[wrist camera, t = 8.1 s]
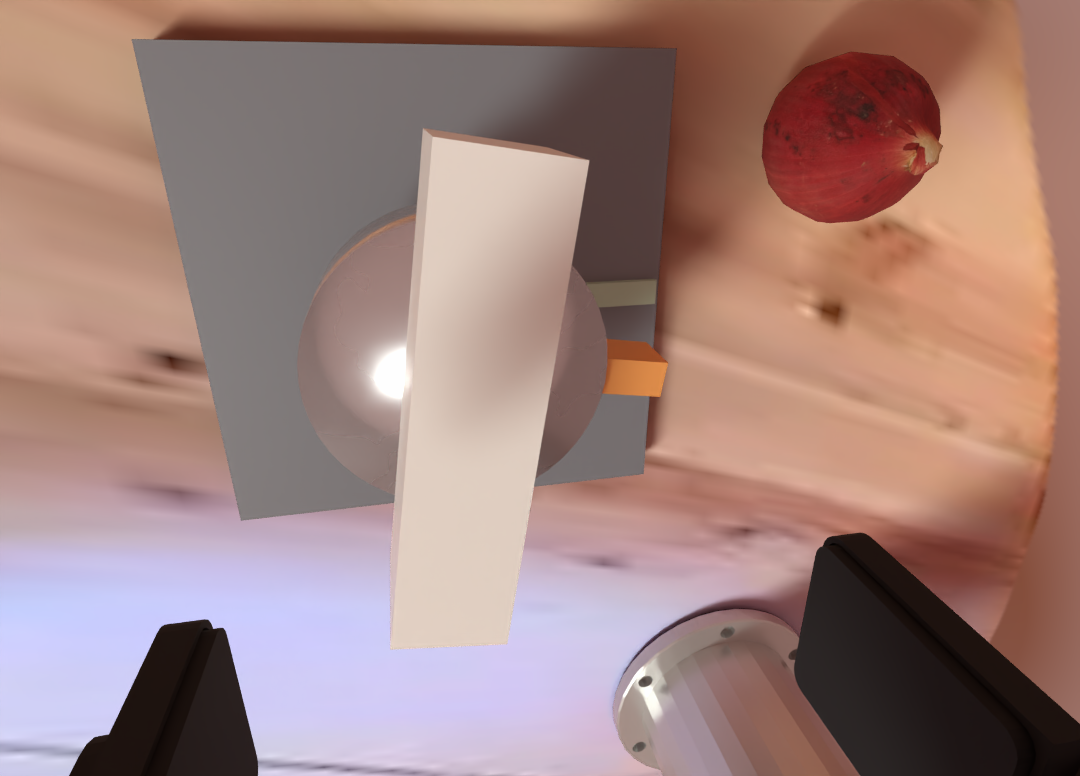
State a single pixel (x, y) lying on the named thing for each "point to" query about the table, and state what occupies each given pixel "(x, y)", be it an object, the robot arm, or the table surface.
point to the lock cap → (463, 372)
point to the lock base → (384, 212)
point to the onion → (850, 137)
